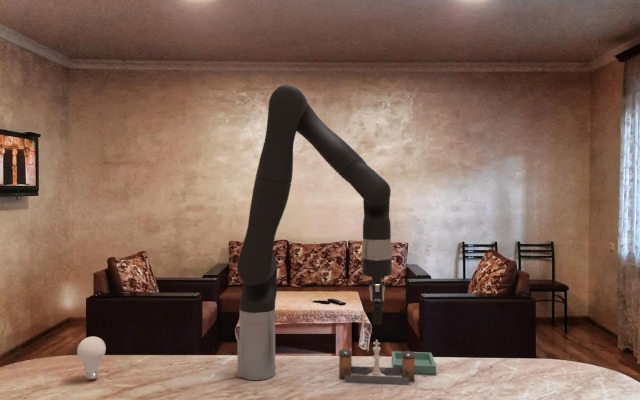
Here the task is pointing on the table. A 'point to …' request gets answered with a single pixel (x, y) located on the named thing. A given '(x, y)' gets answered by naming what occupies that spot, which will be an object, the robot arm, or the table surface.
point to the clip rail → (405, 371)
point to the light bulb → (91, 355)
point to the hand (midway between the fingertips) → (377, 319)
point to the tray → (417, 362)
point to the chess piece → (376, 360)
